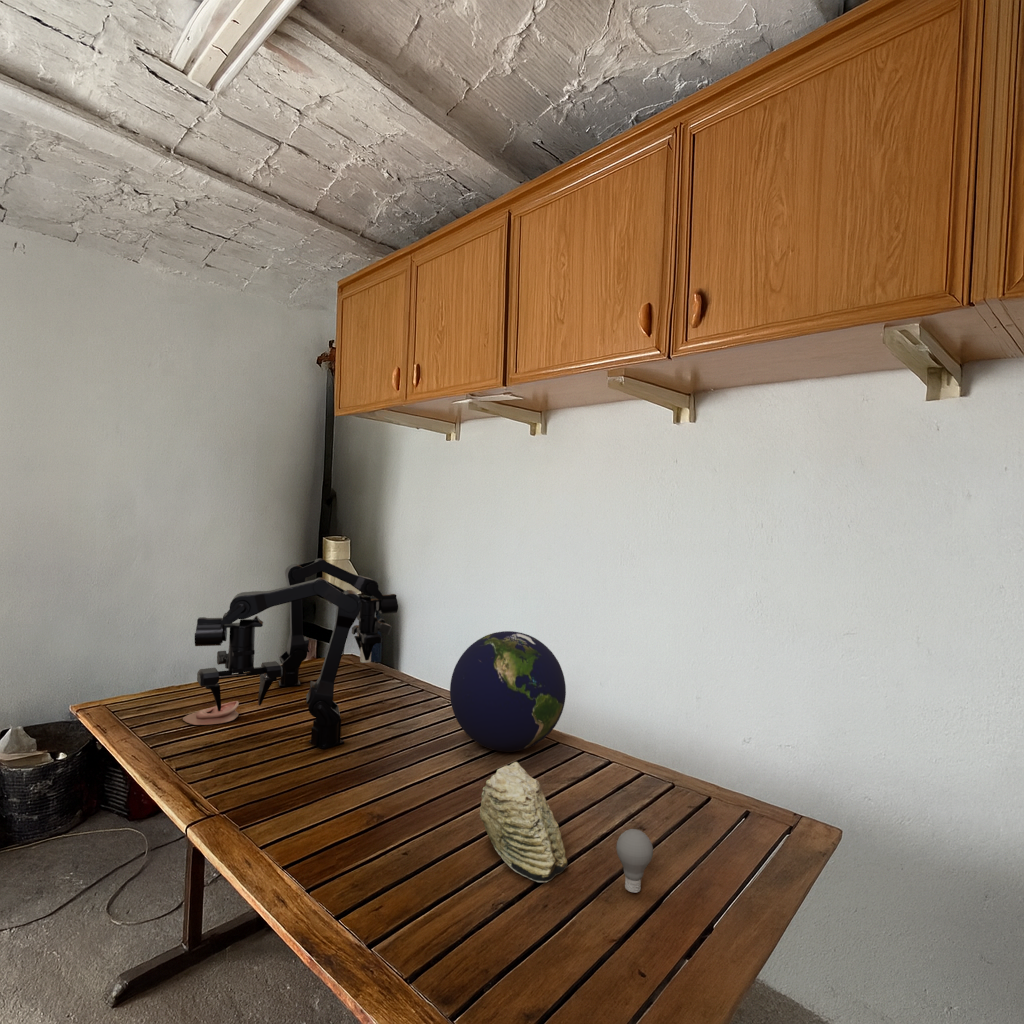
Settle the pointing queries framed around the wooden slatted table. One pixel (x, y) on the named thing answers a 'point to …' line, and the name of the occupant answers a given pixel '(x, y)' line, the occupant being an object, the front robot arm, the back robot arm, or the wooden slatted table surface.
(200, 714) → the anatomical model
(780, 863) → the wooden slatted table surface
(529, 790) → the fossil
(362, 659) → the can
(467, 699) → the globe
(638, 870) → the light bulb
